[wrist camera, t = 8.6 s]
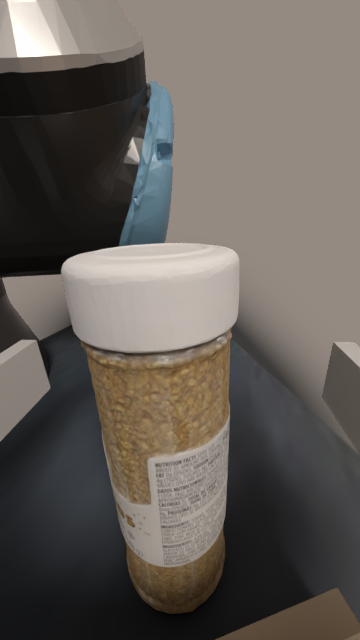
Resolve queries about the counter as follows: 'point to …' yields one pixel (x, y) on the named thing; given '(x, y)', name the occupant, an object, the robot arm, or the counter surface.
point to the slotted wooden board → (305, 622)
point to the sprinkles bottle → (162, 403)
